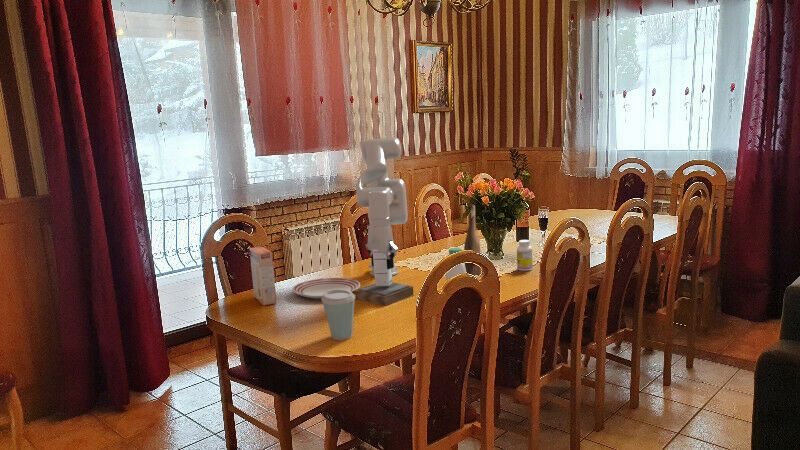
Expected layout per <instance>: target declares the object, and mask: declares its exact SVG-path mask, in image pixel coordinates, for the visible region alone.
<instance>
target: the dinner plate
mask: <svg viewBox="0 0 800 450" xmlns="http://www.w3.org/2000/svg"><path fill="white" fill-rule="evenodd" d="M360 288H361V283H360V282H359V281H358V280H356V279H351V278H345V277H325V278H324V277H322V278H314V279H309V280H306V281H302V282H299V283H297V284H295V285H294V286H293V287H292V292H294V294H295V295H296V294H297V295H298V296H301V297H305V298H309V299H313V300H322V297H323V294H324V292H326V291H328V290H331V289H345V290H349V291H351V292H352V293H353V292H355V290H358V289H360Z"/></svg>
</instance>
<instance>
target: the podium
mask: <svg viewBox="0 0 800 450" xmlns="http://www.w3.org/2000/svg"><path fill="white" fill-rule="evenodd" d="M354 292H355V293H354V295H355V300H358V301H362V302H367V303H371V304H375V305H379V306H383V307H387V306H389V305H392V304H394V303H397V302H400V301H403V300H404V299H408V298H410V297H413V296H414V286H412V285H407V284H403V283H399V282H392V283H391V284H390V286H376V285H375V283H372V284H369V285H366V286H365V287H359V288H358V289H356V290H354Z"/></svg>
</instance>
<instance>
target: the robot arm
mask: <svg viewBox="0 0 800 450" xmlns="http://www.w3.org/2000/svg"><path fill="white" fill-rule="evenodd" d="M360 153H361V156H362V159H363V161H364V164H365V165H366V169H364V170H363V171H362V173H361V174H360V175H359V176H358V178H357V182H356V187H355V189H356V190H355V191H356V202H357V204H358V206H359V207H361V208H368V210H367V217H368V221H369V226H368V231H367V243H365V248H366V249H367V252H368V253H369V257H370V258H371V262H370V263H369V264H368V267H369V268H371V270H370V276H372V277H375V274H374V261H373V250H374V249H377V250H378V252H380V253H386V256H387V258H388V259H387V269H391V268H392V277H393V276H395V275H397V274H398V273H399V269H398V268H396V266H395V257H396V255H397V253H398V251H399V248H398V247H397V245H395V244H394V234H393V229H392V225H393V226H395V225H403V224H405V223H407V221H408V217H409V215H408V214H409V213H408V212H409V211H408V203H407V202H408V201H407V188H406V183H405V181H404V180H403V179H401V178H389V172H388V171H389V170H388V160H389V159H392V160H394V159H399V158H400V157H401V156H402V144H401V141H400V139H399V138H398V137H388V138H373V139H372V138H370V139H366V140H363V141H362V142H361V144H360ZM367 185H369V186H368V187H366V186H367ZM393 201H396V202H393ZM388 250H389V251H388ZM389 253H390V255H389Z"/></svg>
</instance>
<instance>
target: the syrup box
mask: <svg viewBox="0 0 800 450" xmlns="http://www.w3.org/2000/svg"><path fill="white" fill-rule="evenodd" d="M388 251H389V250H388ZM389 255H390V253H389ZM387 259H388V258H387V256H386V253H380V252H378V250H377V249H374V250H373V261H374V274H375V276H374V284H375V285H376V286H390V284H391V283H392V282H393V276H392V268H391V269H387Z"/></svg>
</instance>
